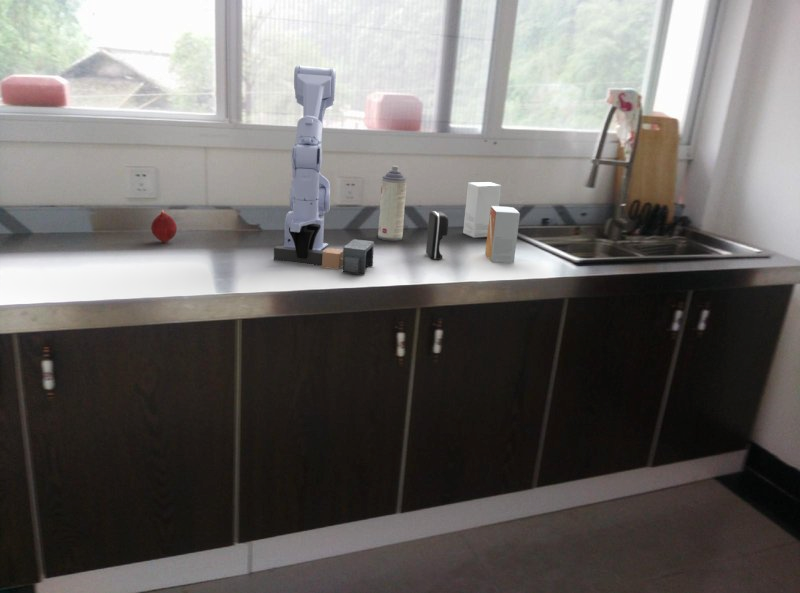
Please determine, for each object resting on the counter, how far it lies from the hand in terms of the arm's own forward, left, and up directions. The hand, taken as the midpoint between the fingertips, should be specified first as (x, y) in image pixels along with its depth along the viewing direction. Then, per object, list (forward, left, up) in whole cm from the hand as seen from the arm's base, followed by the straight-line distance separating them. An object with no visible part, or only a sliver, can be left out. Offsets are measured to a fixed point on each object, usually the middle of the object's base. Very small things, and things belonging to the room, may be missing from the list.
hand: (304, 256), depth 150 cm
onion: (-37, +2, -2) cm, 37 cm away
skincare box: (+37, +52, -2) cm, 64 cm away
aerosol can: (+13, +35, -2) cm, 38 cm away
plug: (+1, 0, -2) cm, 2 cm away
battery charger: (+28, +20, -2) cm, 35 cm away
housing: (+13, 0, -1) cm, 13 cm away
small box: (+44, +26, -2) cm, 52 cm away
